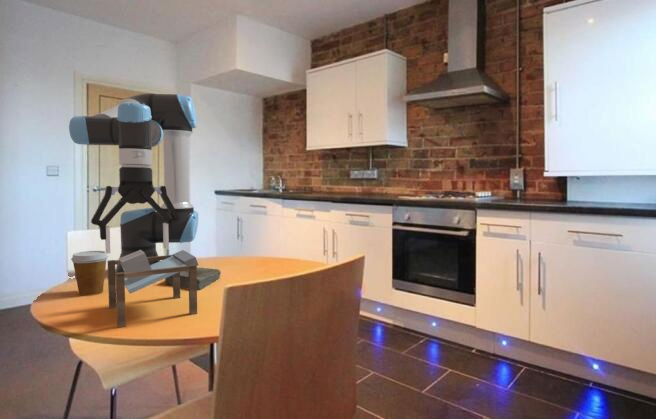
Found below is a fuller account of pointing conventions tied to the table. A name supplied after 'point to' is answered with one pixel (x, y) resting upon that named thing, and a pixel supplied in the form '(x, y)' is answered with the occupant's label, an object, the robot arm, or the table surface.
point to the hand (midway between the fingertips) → (138, 250)
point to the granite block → (135, 264)
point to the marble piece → (203, 278)
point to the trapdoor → (174, 261)
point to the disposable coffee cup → (90, 271)
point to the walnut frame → (118, 283)
